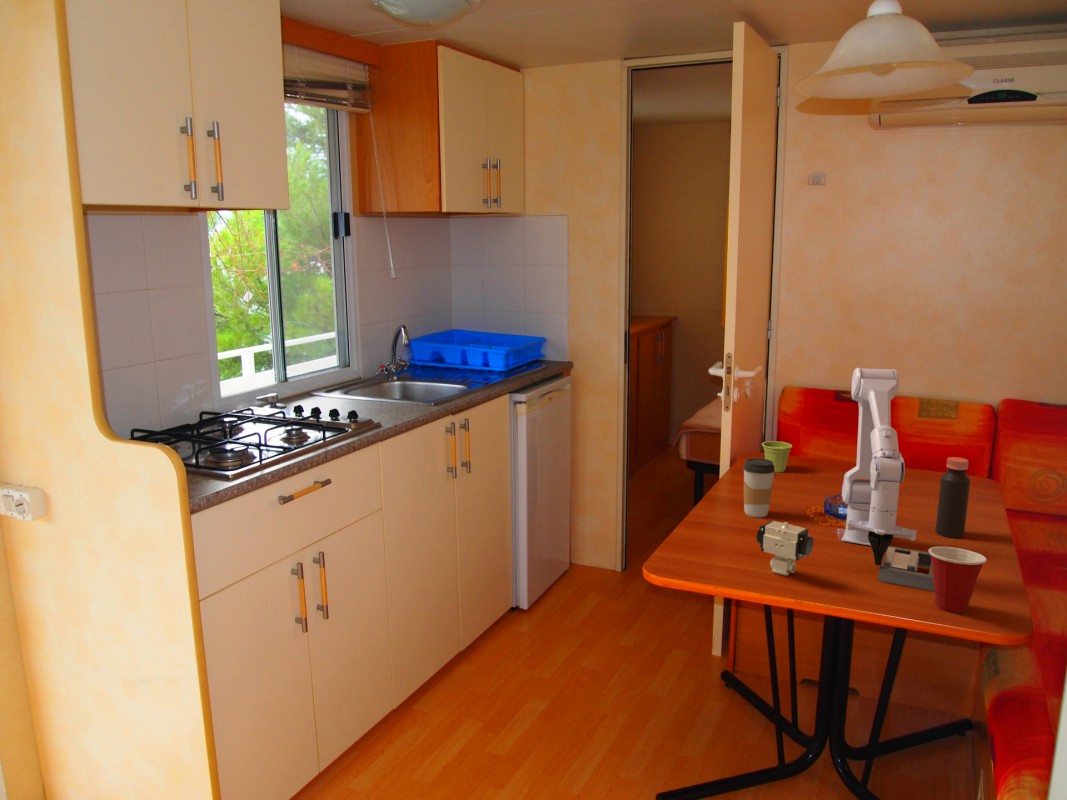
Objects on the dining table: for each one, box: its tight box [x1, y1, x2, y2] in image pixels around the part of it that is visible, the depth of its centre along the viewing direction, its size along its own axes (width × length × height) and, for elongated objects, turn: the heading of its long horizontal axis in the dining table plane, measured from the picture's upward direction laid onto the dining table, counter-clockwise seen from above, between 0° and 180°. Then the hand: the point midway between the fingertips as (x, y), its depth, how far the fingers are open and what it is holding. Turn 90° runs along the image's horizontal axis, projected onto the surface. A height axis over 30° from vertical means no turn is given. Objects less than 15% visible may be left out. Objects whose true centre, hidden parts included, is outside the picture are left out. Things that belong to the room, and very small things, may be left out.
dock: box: [877, 545, 935, 592], centre depth 194 cm, size 16×12×3 cm
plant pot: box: [761, 440, 793, 473], centre depth 278 cm, size 9×9×9 cm
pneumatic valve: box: [756, 520, 814, 577], centre depth 193 cm, size 6×12×12 cm, turn 51°
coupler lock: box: [881, 547, 919, 573], centre depth 195 cm, size 10×7×4 cm
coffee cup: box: [743, 457, 775, 518], centre depth 234 cm, size 8×8×15 cm
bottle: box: [934, 456, 971, 539], centre depth 219 cm, size 7×7×20 cm
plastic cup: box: [927, 546, 987, 614], centre depth 176 cm, size 11×11×12 cm
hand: (878, 563), depth 198 cm, fingers closed
